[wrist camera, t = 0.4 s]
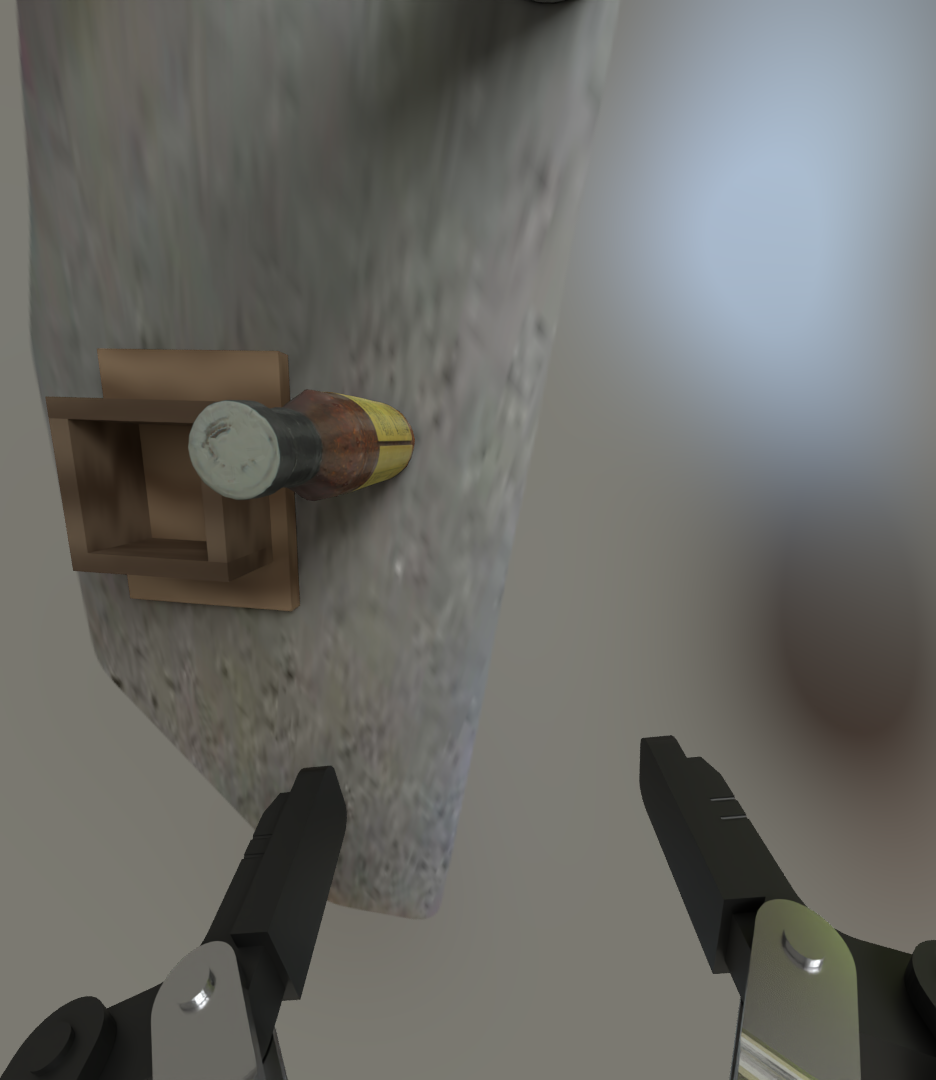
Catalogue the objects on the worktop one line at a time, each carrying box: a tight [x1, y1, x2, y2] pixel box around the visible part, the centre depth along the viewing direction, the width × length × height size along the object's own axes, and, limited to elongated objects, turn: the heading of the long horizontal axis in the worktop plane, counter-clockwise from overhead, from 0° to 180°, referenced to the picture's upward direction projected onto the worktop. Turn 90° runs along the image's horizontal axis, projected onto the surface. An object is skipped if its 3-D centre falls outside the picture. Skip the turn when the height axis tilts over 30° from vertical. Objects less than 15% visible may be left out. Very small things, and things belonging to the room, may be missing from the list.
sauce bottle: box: [188, 389, 415, 501], centre depth 27 cm, size 6×6×20 cm
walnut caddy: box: [46, 349, 300, 611], centre depth 35 cm, size 22×16×8 cm
